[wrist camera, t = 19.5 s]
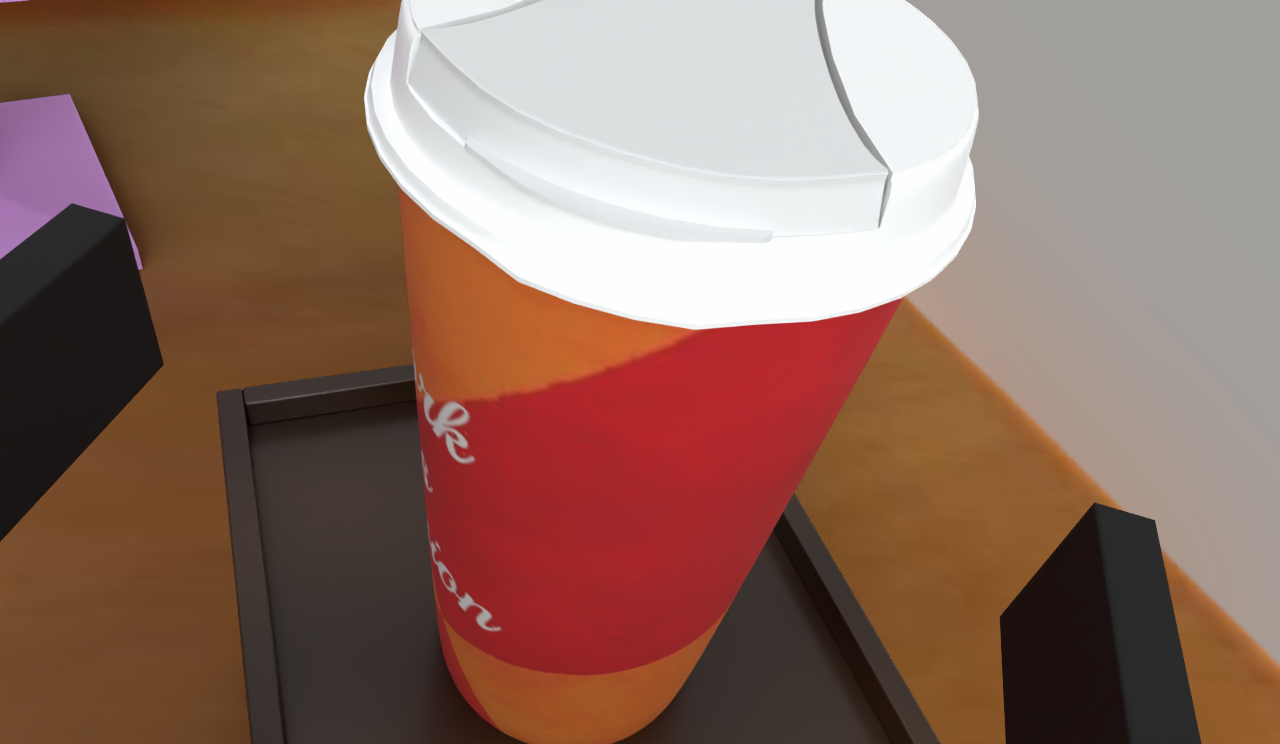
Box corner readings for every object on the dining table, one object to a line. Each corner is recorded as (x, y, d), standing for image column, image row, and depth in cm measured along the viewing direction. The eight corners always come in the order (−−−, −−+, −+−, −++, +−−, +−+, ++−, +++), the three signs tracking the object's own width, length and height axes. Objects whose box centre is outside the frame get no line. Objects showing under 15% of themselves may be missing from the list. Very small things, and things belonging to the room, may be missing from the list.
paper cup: (477, 449, 24) (518, -149, 14) (767, 550, 23) (1021, -7, 13) (314, 731, 18) (194, 62, 9) (688, 875, 18) (1026, 325, 8)
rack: (269, 635, 31) (215, 390, 23) (632, 552, 36) (696, 324, 27) (344, 1260, 21) (298, 1222, 13) (835, 1030, 26) (1030, 896, 18)
